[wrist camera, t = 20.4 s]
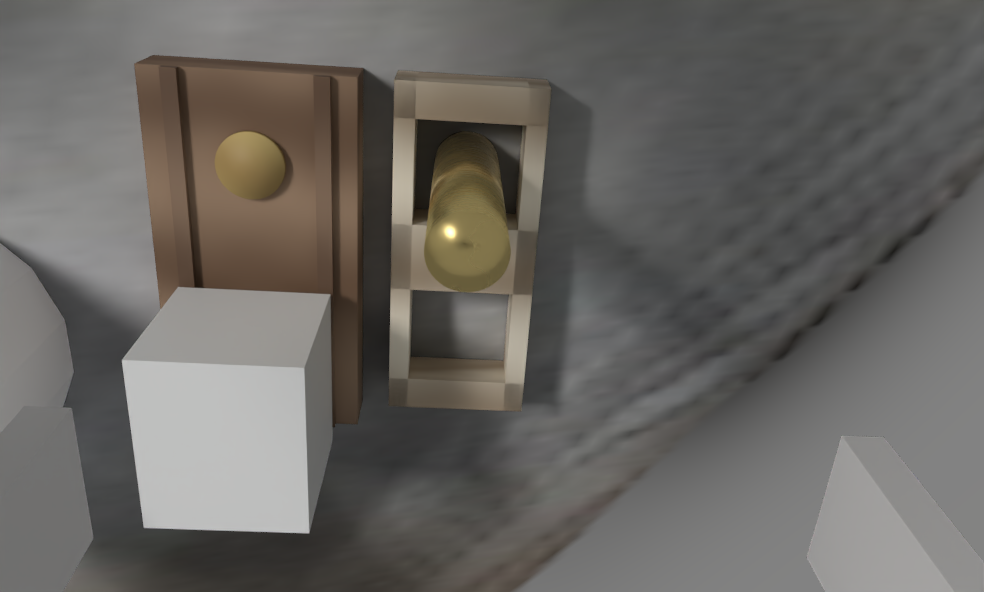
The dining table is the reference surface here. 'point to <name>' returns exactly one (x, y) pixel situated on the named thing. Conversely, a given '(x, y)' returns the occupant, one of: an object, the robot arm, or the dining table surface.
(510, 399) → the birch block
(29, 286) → the container
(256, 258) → the walnut board
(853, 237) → the dining table surface
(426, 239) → the brass pin
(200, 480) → the block
